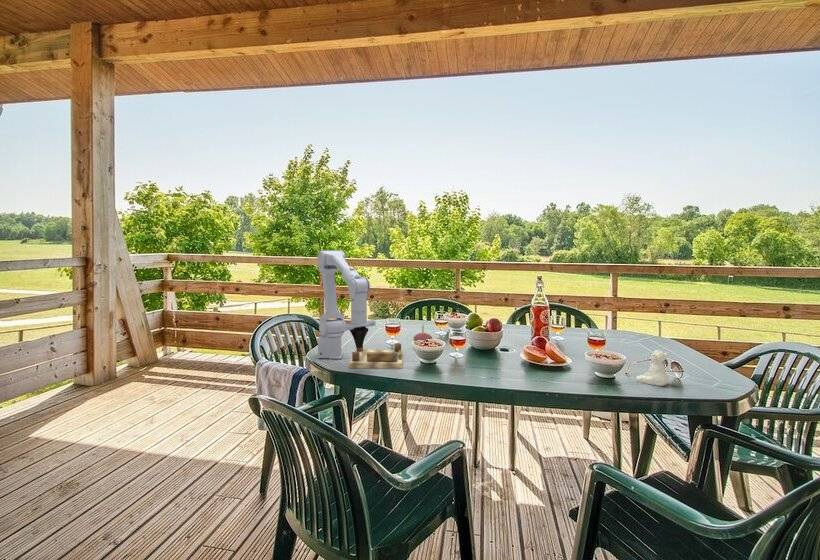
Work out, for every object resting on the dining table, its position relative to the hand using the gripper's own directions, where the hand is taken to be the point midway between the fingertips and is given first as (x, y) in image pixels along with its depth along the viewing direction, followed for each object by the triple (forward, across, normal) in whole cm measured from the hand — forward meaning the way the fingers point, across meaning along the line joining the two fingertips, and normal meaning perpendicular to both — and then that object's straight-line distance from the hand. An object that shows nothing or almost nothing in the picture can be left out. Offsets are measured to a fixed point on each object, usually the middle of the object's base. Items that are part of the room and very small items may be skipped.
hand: (359, 347), depth 160 cm
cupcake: (+9, +41, +6) cm, 42 cm away
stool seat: (+9, +14, +5) cm, 17 cm away
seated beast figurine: (+9, +65, -82) cm, 105 cm away
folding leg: (+6, +10, -2) cm, 12 cm away
